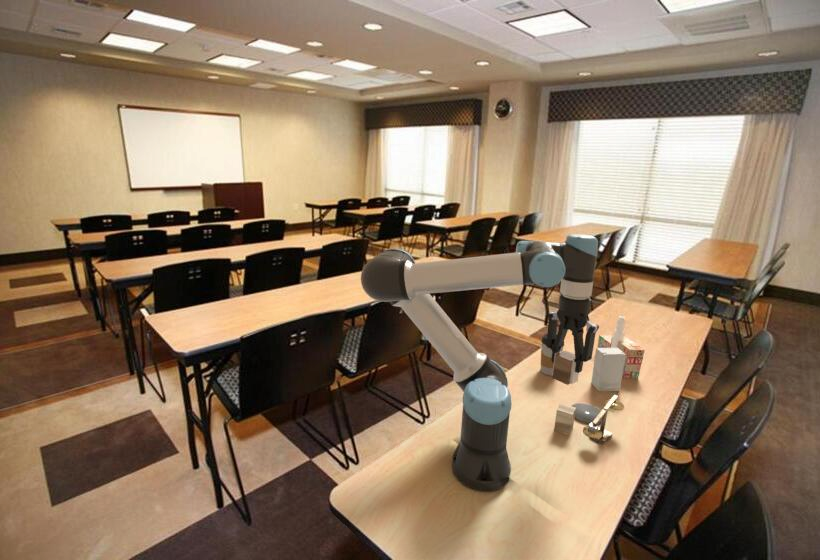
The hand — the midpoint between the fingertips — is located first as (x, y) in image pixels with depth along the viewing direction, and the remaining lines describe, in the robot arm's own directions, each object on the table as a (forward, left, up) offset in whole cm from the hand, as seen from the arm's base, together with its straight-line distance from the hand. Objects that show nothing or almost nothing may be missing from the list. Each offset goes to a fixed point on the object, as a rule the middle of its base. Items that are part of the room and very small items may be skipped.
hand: (564, 378), depth 110 cm
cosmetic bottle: (+64, +10, -21) cm, 68 cm away
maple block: (+9, +2, -21) cm, 23 cm away
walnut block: (0, 0, 0) cm, 0 cm away
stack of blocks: (+66, +10, -21) cm, 70 cm away
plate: (+22, +1, -21) cm, 30 cm away
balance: (+14, -7, -21) cm, 26 cm away
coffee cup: (+39, +24, -21) cm, 50 cm away
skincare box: (+45, +5, -21) cm, 50 cm away
